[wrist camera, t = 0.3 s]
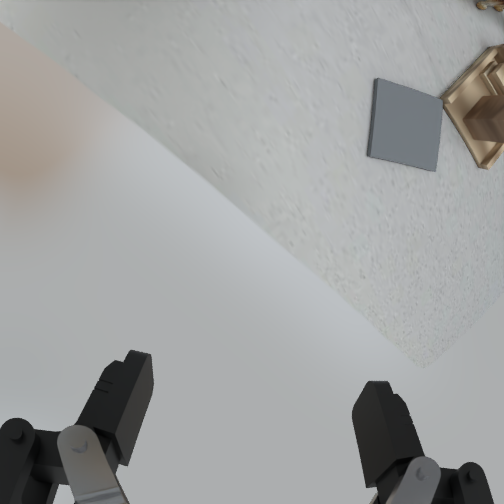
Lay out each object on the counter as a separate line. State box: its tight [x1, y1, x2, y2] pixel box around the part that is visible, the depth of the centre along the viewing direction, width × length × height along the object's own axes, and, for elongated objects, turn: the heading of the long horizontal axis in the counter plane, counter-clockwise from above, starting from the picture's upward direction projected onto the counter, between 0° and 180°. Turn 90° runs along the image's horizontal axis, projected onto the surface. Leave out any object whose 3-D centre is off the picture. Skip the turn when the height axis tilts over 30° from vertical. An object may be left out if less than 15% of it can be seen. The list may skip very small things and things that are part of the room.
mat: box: [367, 78, 443, 172], centre depth 33 cm, size 10×10×1 cm
